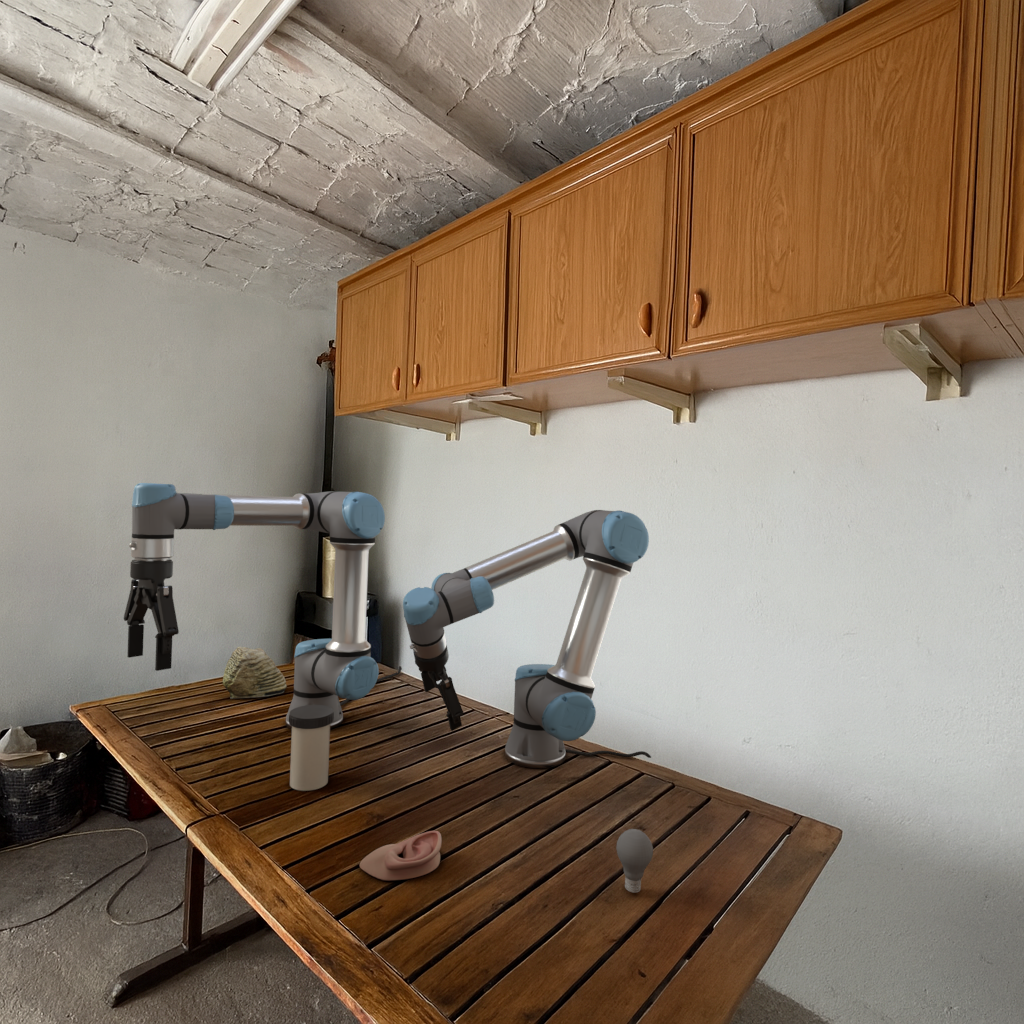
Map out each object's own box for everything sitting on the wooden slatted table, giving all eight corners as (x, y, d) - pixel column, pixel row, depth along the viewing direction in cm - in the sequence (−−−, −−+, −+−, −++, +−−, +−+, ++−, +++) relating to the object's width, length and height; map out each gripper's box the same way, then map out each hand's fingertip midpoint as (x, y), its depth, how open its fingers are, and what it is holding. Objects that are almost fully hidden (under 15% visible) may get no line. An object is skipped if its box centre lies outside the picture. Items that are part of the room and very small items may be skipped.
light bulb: (610, 879, 108) (613, 822, 108) (644, 879, 109) (647, 822, 109) (619, 902, 102) (622, 840, 102) (655, 901, 103) (658, 840, 103)
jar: (304, 771, 145) (307, 705, 145) (335, 778, 143) (338, 710, 143) (281, 786, 138) (284, 716, 137) (313, 793, 135) (316, 722, 135)
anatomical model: (352, 851, 106) (379, 818, 118) (351, 875, 106) (379, 839, 118) (427, 864, 104) (448, 829, 115) (426, 888, 104) (447, 850, 115)
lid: (306, 711, 146) (306, 702, 146) (341, 717, 143) (342, 708, 143) (279, 725, 137) (280, 715, 137) (316, 731, 134) (317, 721, 134)
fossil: (218, 695, 195) (220, 647, 195) (278, 685, 208) (279, 640, 207) (228, 703, 189) (230, 653, 188) (289, 692, 201) (290, 645, 201)
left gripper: (108, 554, 134) (104, 654, 134) (159, 565, 118) (155, 678, 119) (146, 552, 140) (143, 648, 140) (199, 563, 124) (195, 671, 124)
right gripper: (391, 621, 148) (406, 681, 160) (440, 693, 130) (453, 753, 143) (420, 608, 151) (433, 667, 163) (472, 675, 133) (482, 736, 146)
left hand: (148, 662), depth 129 cm, fingers open, 13 cm apart
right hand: (442, 707), depth 153 cm, fingers open, 13 cm apart
